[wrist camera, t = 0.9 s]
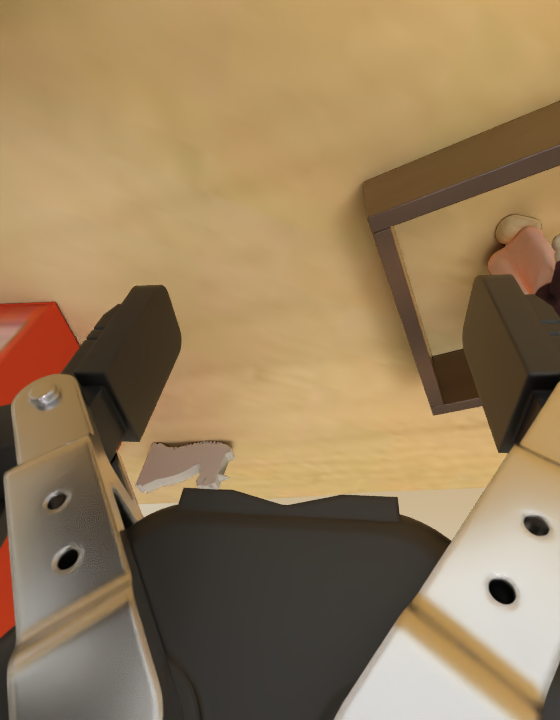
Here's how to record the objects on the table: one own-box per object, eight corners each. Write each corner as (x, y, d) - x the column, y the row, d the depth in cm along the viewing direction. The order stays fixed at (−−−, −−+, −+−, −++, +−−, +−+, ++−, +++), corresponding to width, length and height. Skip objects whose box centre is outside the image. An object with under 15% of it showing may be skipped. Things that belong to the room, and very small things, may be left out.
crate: (362, 181, 27) (366, 217, 23) (673, 53, 21) (754, 70, 17) (422, 367, 36) (433, 416, 32) (646, 314, 31) (693, 364, 27)
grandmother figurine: (477, 211, 27) (550, 332, 18) (544, 188, 26) (661, 306, 16) (490, 304, 32) (554, 441, 22) (548, 289, 30) (642, 427, 21)
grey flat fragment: (153, 442, 48) (236, 440, 46) (157, 449, 49) (239, 447, 47) (134, 486, 44) (225, 486, 42) (140, 493, 45) (228, 493, 43)
